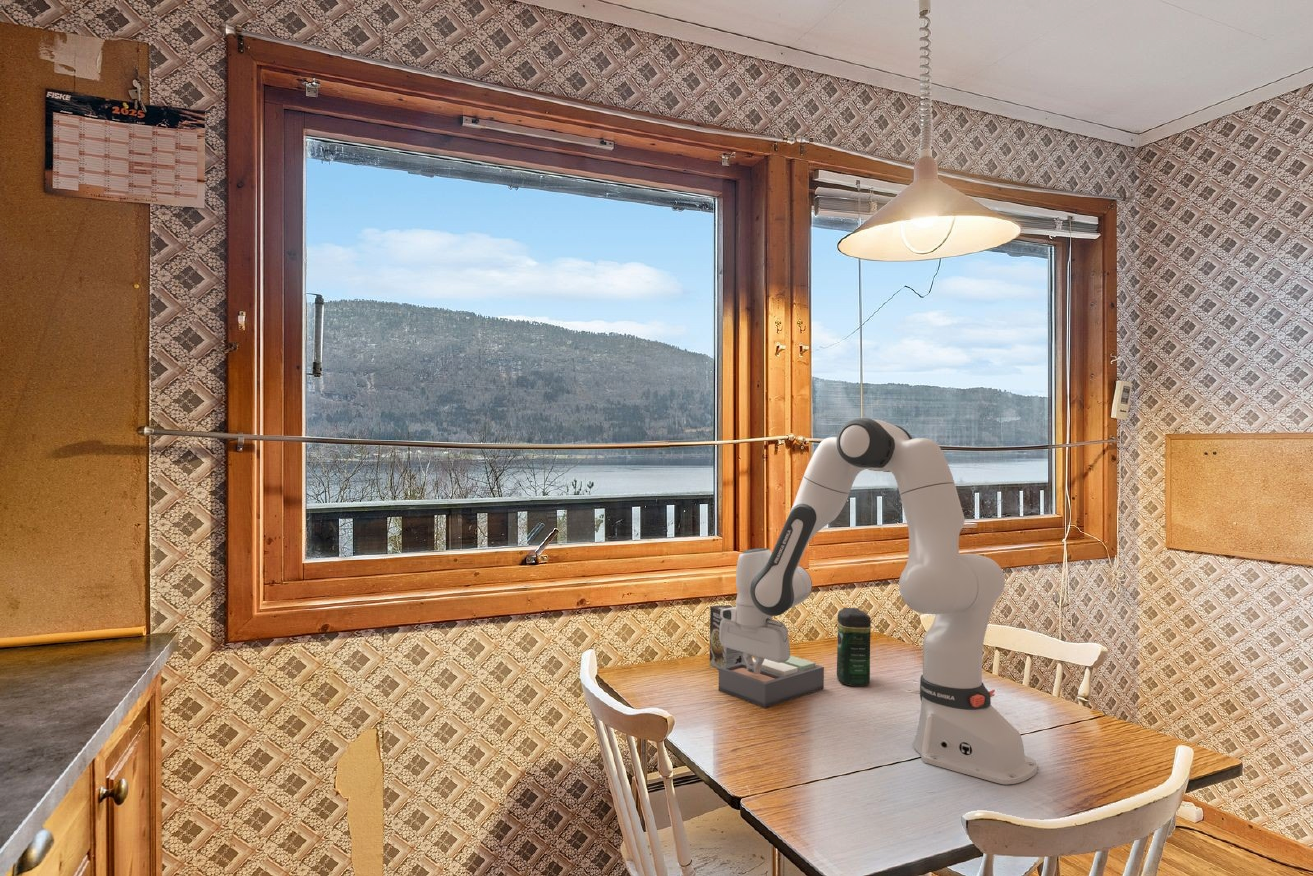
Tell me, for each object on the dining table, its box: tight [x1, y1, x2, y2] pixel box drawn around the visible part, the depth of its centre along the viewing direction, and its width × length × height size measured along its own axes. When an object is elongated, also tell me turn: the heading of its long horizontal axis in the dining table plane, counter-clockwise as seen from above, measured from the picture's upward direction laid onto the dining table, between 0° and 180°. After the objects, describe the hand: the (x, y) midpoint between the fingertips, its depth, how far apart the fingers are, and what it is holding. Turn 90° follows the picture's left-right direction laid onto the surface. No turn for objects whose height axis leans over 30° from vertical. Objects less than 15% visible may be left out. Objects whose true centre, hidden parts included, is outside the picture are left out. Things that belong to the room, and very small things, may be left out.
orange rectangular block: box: [731, 668, 775, 682], centre depth 177 cm, size 12×5×3 cm, turn 40°
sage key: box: [781, 654, 816, 671], centre depth 186 cm, size 12×5×3 cm, turn 40°
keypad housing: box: [718, 662, 825, 709], centre depth 181 cm, size 15×22×6 cm
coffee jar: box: [836, 607, 872, 687], centre depth 189 cm, size 10×8×19 cm
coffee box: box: [709, 604, 745, 670], centre depth 199 cm, size 9×6×16 cm
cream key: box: [752, 657, 798, 676], centre depth 181 cm, size 12×5×3 cm, turn 40°
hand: (753, 672), depth 177 cm, fingers closed
